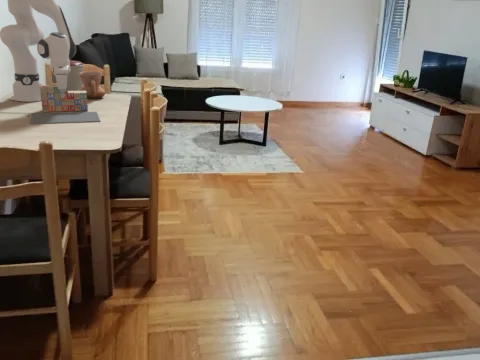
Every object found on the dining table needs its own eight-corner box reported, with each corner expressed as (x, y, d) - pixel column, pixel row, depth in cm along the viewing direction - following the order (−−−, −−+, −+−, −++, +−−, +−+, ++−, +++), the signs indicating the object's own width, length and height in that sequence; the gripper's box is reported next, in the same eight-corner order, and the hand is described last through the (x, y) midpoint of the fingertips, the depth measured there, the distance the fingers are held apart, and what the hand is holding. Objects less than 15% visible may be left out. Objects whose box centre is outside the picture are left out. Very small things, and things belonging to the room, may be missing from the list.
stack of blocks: (87, 108, 237) (85, 84, 233) (88, 111, 231) (86, 86, 227) (42, 109, 229) (40, 84, 225) (42, 111, 224) (39, 86, 220)
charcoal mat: (31, 114, 220) (31, 113, 219) (96, 112, 230) (96, 111, 230) (29, 124, 202) (29, 123, 202) (100, 121, 213) (100, 120, 213)
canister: (75, 88, 289) (73, 53, 281) (92, 92, 278) (90, 57, 271) (48, 91, 275) (45, 55, 268) (65, 95, 265) (62, 58, 258)
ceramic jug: (78, 95, 269) (76, 70, 264) (104, 94, 274) (102, 70, 269) (80, 101, 254) (78, 75, 248) (107, 101, 259) (105, 75, 253)
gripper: (53, 64, 231) (55, 92, 236) (53, 70, 213) (56, 100, 218) (66, 65, 233) (68, 92, 238) (68, 71, 215) (70, 100, 220)
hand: (62, 96), depth 228 cm, fingers closed on stack of blocks, 6 cm apart
